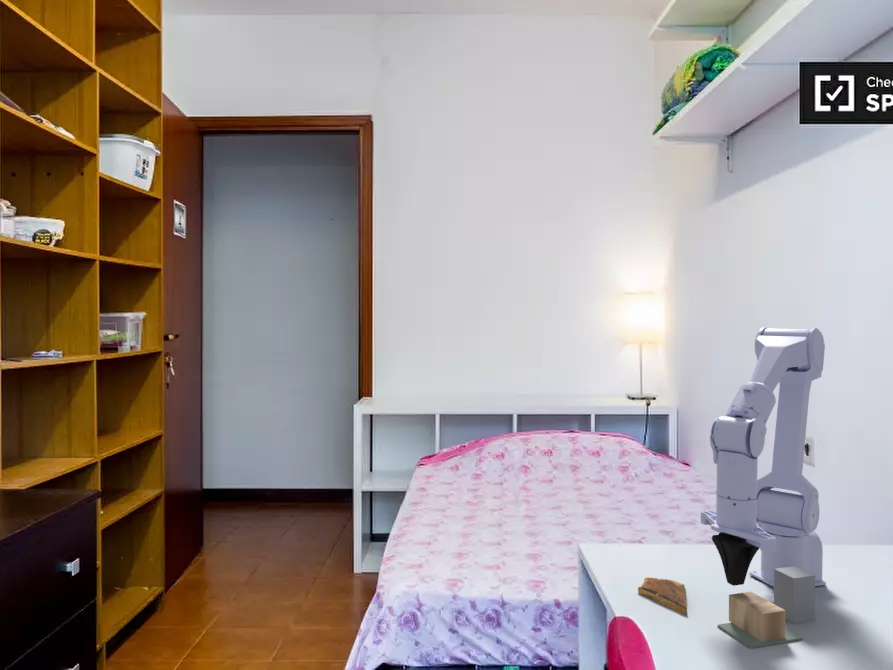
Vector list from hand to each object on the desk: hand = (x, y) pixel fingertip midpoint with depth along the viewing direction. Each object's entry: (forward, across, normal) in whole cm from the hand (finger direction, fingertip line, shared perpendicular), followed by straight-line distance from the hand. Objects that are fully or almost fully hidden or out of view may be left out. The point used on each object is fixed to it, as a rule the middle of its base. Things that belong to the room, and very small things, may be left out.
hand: (735, 583), depth 107 cm
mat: (+5, +5, 0) cm, 7 cm away
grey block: (+6, +2, +9) cm, 11 cm away
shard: (+6, -10, -4) cm, 12 cm away
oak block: (+3, +1, 0) cm, 3 cm away
